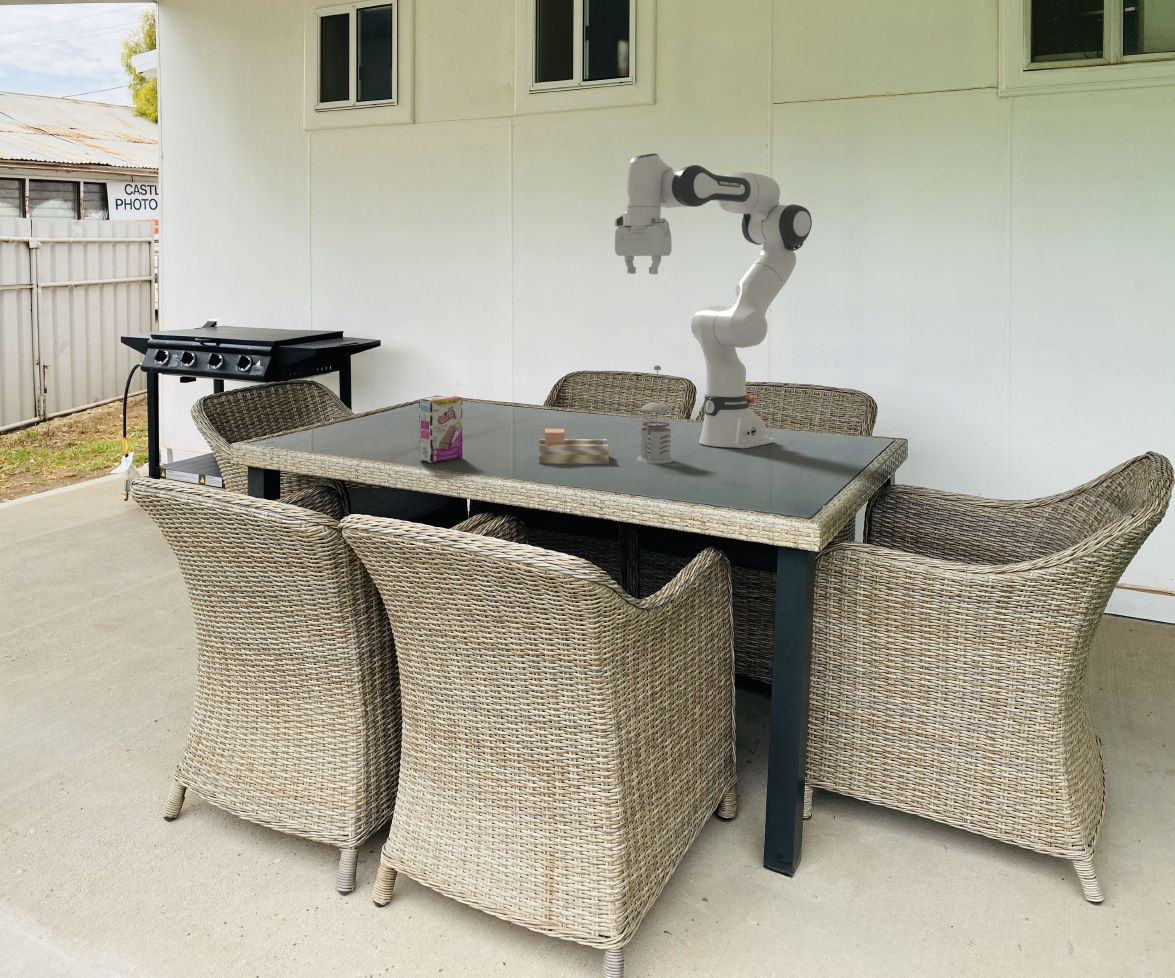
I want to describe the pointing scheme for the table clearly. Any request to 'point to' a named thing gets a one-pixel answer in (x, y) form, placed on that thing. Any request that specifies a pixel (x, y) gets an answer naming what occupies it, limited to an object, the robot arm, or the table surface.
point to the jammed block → (554, 436)
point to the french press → (655, 434)
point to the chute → (575, 452)
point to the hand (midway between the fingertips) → (642, 274)
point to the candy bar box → (440, 428)
